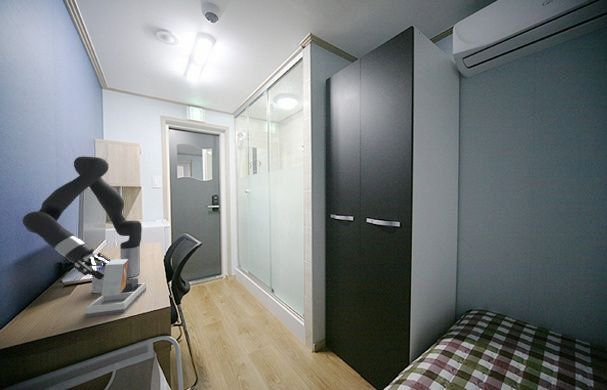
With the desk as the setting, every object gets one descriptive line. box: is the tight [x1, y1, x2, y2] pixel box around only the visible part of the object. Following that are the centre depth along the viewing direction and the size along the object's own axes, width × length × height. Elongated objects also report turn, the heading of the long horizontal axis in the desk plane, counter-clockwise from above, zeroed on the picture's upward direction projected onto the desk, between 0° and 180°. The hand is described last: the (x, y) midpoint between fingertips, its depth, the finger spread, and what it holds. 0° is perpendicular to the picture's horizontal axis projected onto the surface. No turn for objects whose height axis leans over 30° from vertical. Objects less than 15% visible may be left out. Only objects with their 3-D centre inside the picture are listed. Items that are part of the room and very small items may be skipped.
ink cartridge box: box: [91, 266, 105, 295], centre depth 108 cm, size 10×6×14 cm, turn 78°
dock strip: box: [85, 277, 147, 318], centre depth 97 cm, size 21×13×8 cm, turn 16°
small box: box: [100, 258, 129, 297], centre depth 93 cm, size 8×6×13 cm
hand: (108, 274), depth 92 cm, fingers closed on small box, 8 cm apart
